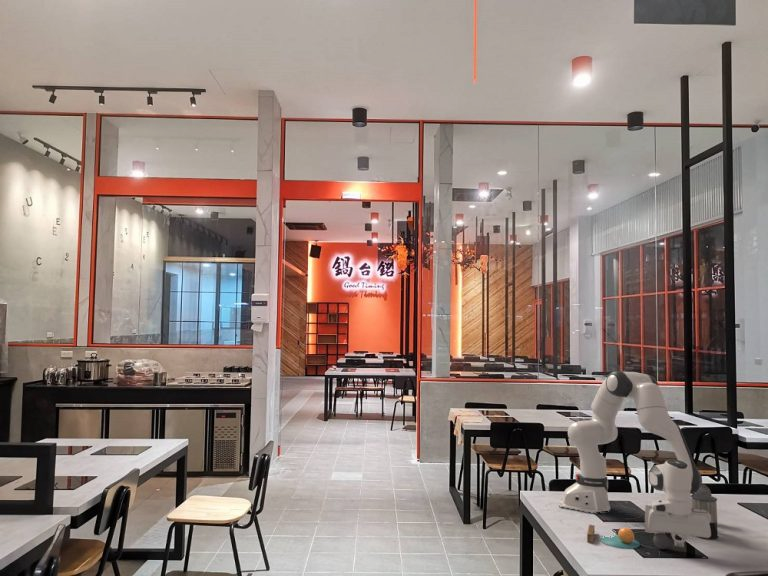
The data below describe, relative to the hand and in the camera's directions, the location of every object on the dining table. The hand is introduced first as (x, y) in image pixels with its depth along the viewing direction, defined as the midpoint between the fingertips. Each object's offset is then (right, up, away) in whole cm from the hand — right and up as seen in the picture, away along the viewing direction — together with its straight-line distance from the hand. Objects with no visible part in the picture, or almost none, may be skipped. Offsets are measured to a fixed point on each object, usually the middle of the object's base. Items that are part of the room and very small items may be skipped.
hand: (679, 546), depth 204 cm
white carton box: (+1, -4, +19) cm, 19 cm away
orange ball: (-16, +1, +7) cm, 18 cm away
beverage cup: (+27, -5, +34) cm, 44 cm away
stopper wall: (-28, -2, +12) cm, 30 cm away
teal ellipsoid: (-18, -2, +8) cm, 20 cm away
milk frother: (+17, -4, +20) cm, 26 cm away
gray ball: (-5, +1, +2) cm, 6 cm away
